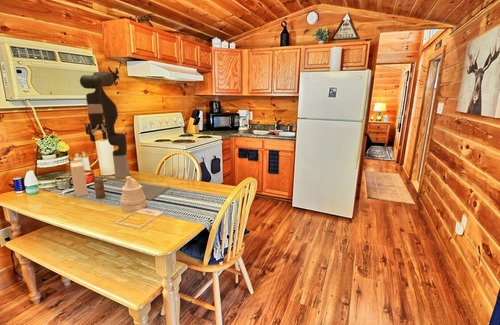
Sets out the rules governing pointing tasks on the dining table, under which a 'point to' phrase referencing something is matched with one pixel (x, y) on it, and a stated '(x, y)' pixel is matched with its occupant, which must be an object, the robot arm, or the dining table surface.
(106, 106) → the robot arm
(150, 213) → the photo frame
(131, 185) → the honey pot
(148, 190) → the slate mat
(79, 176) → the milk
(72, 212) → the dining table surface
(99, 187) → the walnut peg
